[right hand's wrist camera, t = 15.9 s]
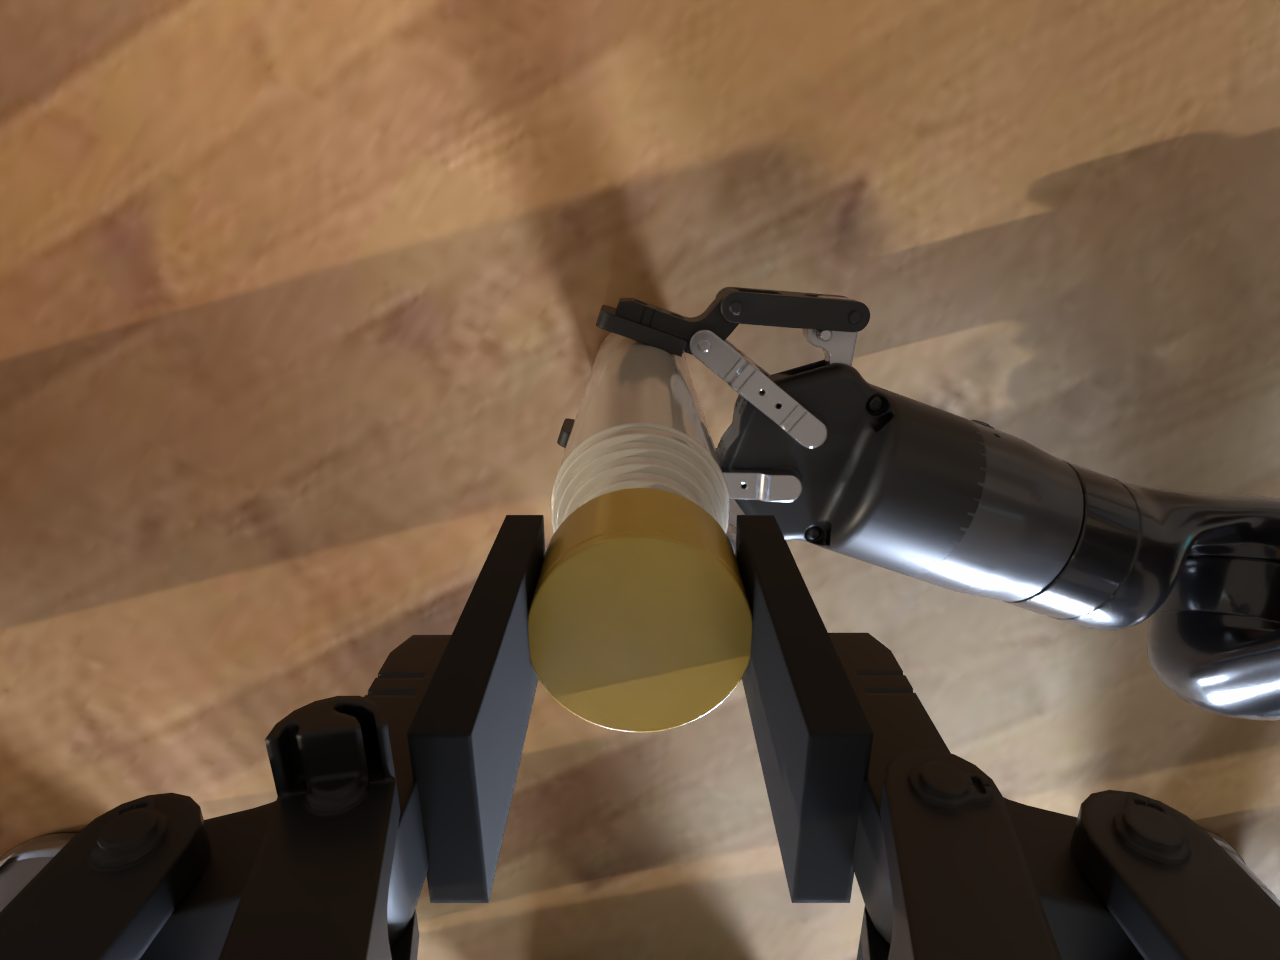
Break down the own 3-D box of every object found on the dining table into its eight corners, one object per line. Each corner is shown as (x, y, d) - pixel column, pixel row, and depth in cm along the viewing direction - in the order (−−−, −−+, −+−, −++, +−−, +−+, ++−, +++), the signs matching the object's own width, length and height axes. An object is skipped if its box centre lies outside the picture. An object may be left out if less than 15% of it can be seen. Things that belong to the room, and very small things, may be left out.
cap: (731, 659, 15) (747, 733, 13) (546, 658, 15) (531, 732, 13) (742, 487, 14) (762, 537, 12) (539, 485, 14) (519, 534, 12)
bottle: (655, 303, 35) (686, 457, 12) (701, 382, 36) (807, 656, 13) (577, 351, 36) (465, 582, 13) (625, 427, 37) (601, 757, 14)
